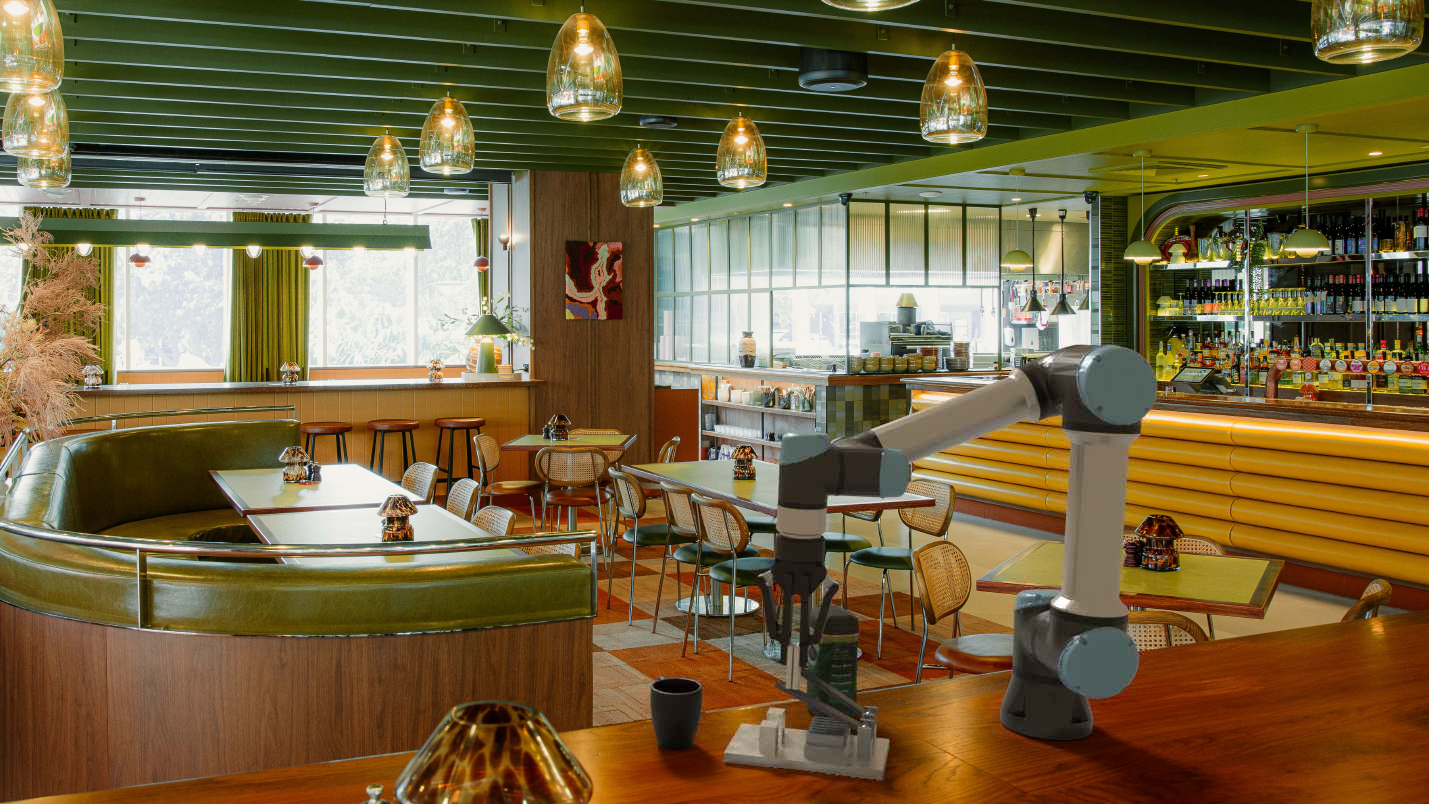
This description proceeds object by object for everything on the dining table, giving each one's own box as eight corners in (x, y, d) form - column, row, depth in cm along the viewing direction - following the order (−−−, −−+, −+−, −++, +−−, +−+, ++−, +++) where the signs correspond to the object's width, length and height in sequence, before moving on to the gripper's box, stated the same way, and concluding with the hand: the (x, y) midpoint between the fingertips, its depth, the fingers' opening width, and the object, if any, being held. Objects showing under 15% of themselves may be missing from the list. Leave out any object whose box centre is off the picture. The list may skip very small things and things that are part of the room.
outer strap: (868, 734, 165) (873, 725, 165) (867, 740, 163) (871, 731, 163) (775, 684, 168) (780, 675, 168) (773, 689, 166) (777, 680, 166)
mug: (685, 724, 182) (686, 668, 181) (708, 751, 170) (709, 691, 170) (637, 729, 179) (638, 672, 178) (657, 756, 168) (658, 696, 167)
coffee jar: (862, 721, 185) (866, 613, 184) (818, 724, 183) (821, 615, 182) (842, 702, 194) (845, 599, 193) (800, 705, 192) (803, 601, 191)
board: (889, 748, 173) (890, 705, 173) (882, 780, 160) (883, 734, 160) (741, 732, 179) (742, 690, 178) (723, 762, 166) (724, 717, 166)
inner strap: (871, 721, 171) (877, 713, 171) (870, 726, 169) (875, 718, 169) (787, 663, 174) (792, 655, 174) (784, 668, 171) (789, 660, 171)
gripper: (847, 533, 167) (839, 684, 168) (762, 525, 170) (754, 674, 172) (841, 542, 160) (833, 699, 161) (752, 534, 163) (745, 688, 164)
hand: (792, 686), depth 166 cm, fingers closed
